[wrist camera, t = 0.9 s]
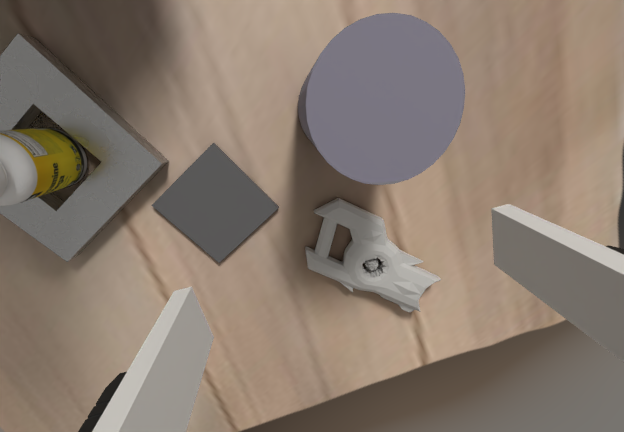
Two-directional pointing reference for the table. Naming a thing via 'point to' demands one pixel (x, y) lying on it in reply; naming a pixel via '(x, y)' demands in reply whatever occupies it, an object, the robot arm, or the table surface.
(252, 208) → the rubber mat
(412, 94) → the container
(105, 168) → the housing plate
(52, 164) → the pill bottle
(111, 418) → the robot arm
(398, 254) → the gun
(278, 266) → the table surface
